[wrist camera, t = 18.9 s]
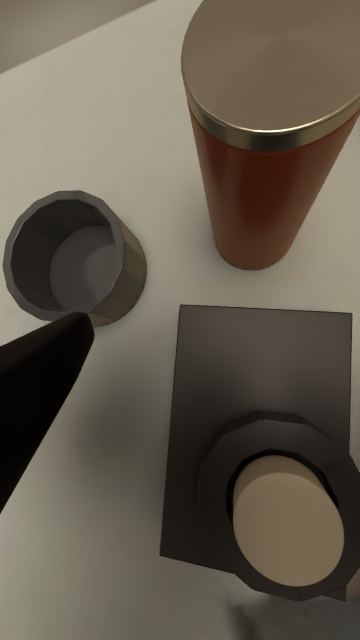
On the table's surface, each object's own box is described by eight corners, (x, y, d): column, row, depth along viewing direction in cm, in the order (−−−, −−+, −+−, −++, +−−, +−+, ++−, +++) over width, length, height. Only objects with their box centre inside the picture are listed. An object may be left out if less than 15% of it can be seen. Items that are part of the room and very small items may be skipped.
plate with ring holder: (336, 568, 13) (372, 644, 10) (168, 530, 15) (148, 584, 11) (343, 317, 14) (377, 307, 11) (186, 309, 16) (172, 298, 12)
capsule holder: (141, 330, 16) (116, 325, 13) (40, 323, 18) (-6, 316, 14) (151, 220, 17) (130, 187, 14) (53, 221, 18) (12, 192, 15)
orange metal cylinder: (275, 281, 15) (347, 156, 5) (202, 254, 16) (149, 107, 6) (306, 208, 15) (434, -45, 5) (232, 186, 16) (226, -63, 6)
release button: (326, 560, 11) (343, 600, 9) (230, 539, 11) (229, 572, 10) (328, 462, 11) (346, 483, 9) (236, 448, 12) (236, 465, 10)
